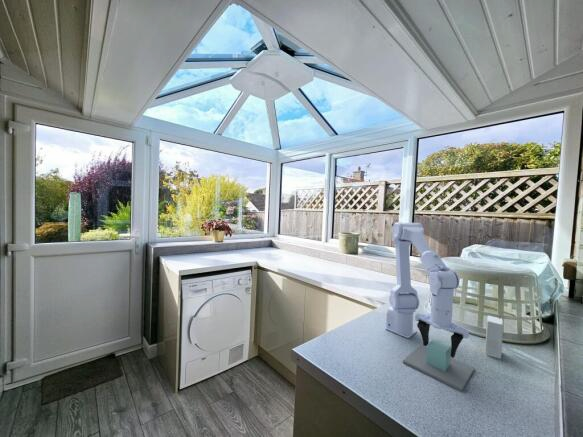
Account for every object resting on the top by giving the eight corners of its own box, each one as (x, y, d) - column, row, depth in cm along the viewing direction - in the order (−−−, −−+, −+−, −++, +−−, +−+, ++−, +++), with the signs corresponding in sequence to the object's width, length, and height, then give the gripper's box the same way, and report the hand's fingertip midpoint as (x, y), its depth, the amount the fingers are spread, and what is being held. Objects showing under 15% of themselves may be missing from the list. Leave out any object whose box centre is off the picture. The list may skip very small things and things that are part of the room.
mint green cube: (426, 362, 78) (427, 344, 77) (432, 356, 81) (433, 338, 81) (444, 371, 74) (446, 352, 73) (450, 364, 77) (451, 345, 77)
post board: (402, 362, 79) (403, 344, 78) (420, 346, 88) (421, 330, 88) (461, 391, 67) (463, 370, 66) (474, 369, 76) (475, 351, 76)
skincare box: (485, 347, 89) (487, 314, 88) (500, 351, 86) (503, 318, 86) (484, 354, 84) (487, 320, 84) (501, 359, 81) (503, 324, 81)
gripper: (412, 304, 79) (409, 344, 80) (465, 320, 68) (462, 367, 69) (420, 298, 84) (418, 337, 85) (472, 313, 73) (469, 357, 74)
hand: (438, 350), depth 77 cm, fingers open, 7 cm apart
